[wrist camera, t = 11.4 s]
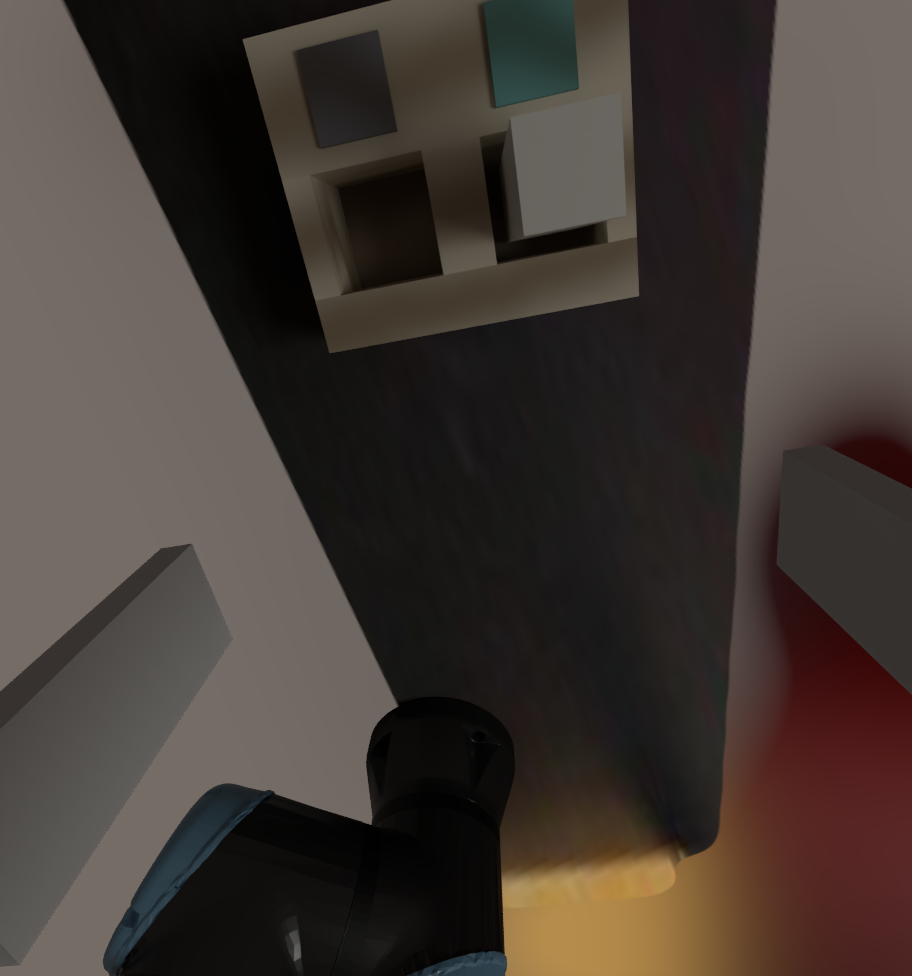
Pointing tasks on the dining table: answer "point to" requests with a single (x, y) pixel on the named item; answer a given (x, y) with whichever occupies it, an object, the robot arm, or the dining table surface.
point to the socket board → (438, 159)
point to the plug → (563, 168)
